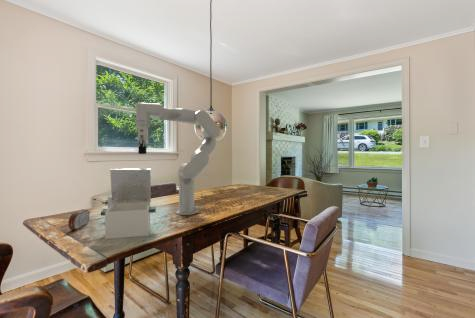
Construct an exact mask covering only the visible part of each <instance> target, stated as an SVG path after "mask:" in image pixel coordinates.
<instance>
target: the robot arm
mask: <svg viewBox="0 0 475 318" xmlns="http://www.w3.org/2000/svg"><path fill="white" fill-rule="evenodd" d="M151 117H152V118H154V119H158V120H163V121H171V122H175V123H177V122H178V123H186V124H190V125H197V126H201V128H202V129H203V130H202V136H203V141H202V143H201V144H200V145H199V146H198V148H196V149H195V151H194V152H192V153H191V155H190V160H189V161H188V162H186V163H182V164H180V166H179V167H178V171H177V175H178V209H177V210H176V212H175V213H176V214H177V215H179V216H191V215H195V214H196V213H197V210H200V211H201V210H203V209H202V206H199V205H197V206H196V205H195V178H196V177H198V176H199V175H200V174H201V172H202V171H203V170H204V169H205V168H206V167H207V165H208V163H209V161H210V155H211V154H212V152H213V151H214V150H215V148H216V145H217V144H216V143H217V139H218V138H219V136H220V134H221V129H220V126H219V125H218V124H217V123H216V122H215V121H214V119H213V118H212V116H211V115H210V113H208V112H207V111H206V110H204V109H200V110H198V111H197V110H194V109H193V110H192V109H187V108H183V107H182V108H181V107H177V108H167V107H164V106H163V104H160V103H146V102H138V103H136V105H135V127H136V128H137V143H138V153H137V154H138V155H140V154H141V155H146V154H147V145H148V144H149V128H151V126H150V125H151V124H150V123H151Z"/></svg>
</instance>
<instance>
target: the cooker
mask: <svg viewBox="0 0 475 318" xmlns="http://www.w3.org/2000/svg"><path fill="white" fill-rule="evenodd" d="M156 208H157V206H151V202H140V203H119V204H112V205H111V206H110V208H109V209H108V208H104V209H102V211H101V212H100V216H101V217H102V216H104V226H105V227H104V233H105V234H104V238H105V240H111V239H123V238H134V237H144V236H145V237H146V236H149V233H150V226H151V214H152V213H156V212H157V211H156V210H157V209H156Z"/></svg>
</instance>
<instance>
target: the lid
mask: <svg viewBox="0 0 475 318" xmlns="http://www.w3.org/2000/svg"><path fill="white" fill-rule="evenodd" d="M109 173H110V187H111V188H110V190H111V196H112V204H119V203H140V202H150V203H151V201H152V199H151V196H152V192H151V189H152V187H151V186H152V185H151V168H110V169H109Z"/></svg>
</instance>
